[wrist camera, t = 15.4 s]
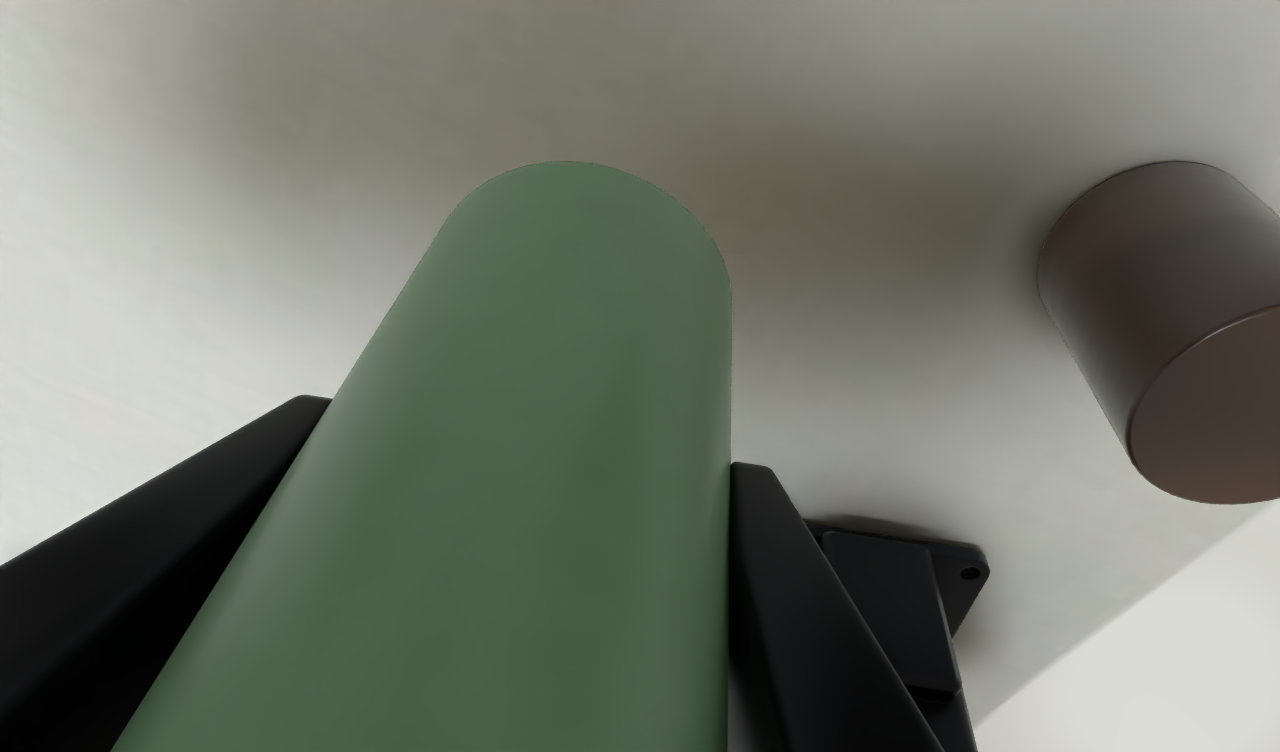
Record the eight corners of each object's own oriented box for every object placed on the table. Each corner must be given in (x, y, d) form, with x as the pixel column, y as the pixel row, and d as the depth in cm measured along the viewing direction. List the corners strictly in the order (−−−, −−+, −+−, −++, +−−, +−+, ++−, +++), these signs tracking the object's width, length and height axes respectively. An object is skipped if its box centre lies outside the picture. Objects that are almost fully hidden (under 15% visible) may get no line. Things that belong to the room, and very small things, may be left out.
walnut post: (1189, 351, 18) (1319, 523, 14) (1005, 323, 18) (1082, 486, 14) (1301, 178, 15) (1498, 325, 11) (1088, 145, 15) (1211, 281, 11)
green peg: (704, 438, 12) (638, 1746, 4) (434, 397, 12) (-145, 1616, 4) (761, 186, 10) (865, 2131, 2) (425, 134, 10) (-985, 1836, 2)
